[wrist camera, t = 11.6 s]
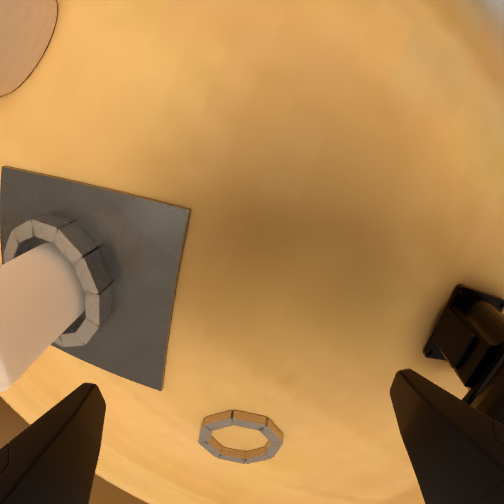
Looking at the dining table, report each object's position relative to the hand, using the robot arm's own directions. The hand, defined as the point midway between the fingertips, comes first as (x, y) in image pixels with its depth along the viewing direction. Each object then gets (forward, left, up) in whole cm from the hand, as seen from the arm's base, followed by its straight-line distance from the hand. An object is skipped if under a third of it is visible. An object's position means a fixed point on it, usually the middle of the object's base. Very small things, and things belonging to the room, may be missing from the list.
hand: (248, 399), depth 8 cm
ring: (-3, +18, -12) cm, 22 cm away
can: (+15, +6, -12) cm, 20 cm away
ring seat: (+15, +6, -12) cm, 20 cm away
